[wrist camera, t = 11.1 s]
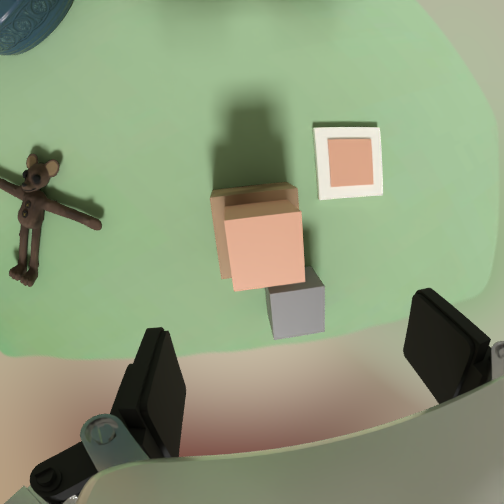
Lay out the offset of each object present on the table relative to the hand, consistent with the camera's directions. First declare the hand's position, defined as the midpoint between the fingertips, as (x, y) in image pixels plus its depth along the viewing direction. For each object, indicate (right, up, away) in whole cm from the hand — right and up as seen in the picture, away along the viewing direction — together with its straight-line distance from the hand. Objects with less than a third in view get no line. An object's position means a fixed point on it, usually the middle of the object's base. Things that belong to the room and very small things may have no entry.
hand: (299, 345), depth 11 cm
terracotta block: (-1, +5, +14) cm, 15 cm away
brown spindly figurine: (-26, +7, +17) cm, 32 cm away
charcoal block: (+2, -1, +22) cm, 22 cm away
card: (+8, +12, +18) cm, 23 cm away
